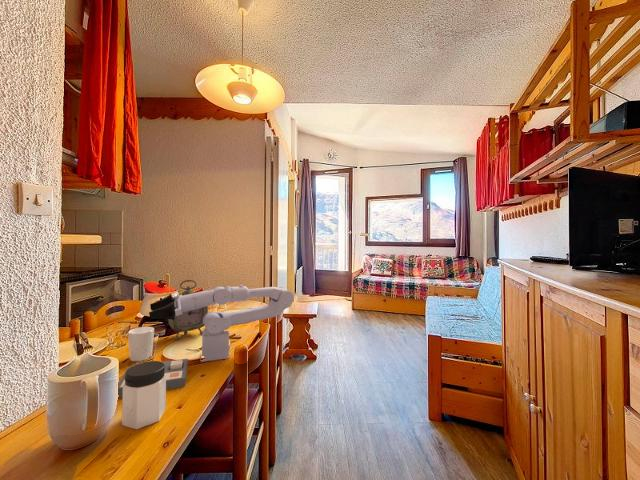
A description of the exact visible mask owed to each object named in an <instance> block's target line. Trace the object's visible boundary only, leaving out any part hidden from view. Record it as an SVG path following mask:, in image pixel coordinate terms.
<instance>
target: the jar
mask: <svg viewBox="0 0 640 480" xmlns="http://www.w3.org/2000/svg"><path fill="white" fill-rule="evenodd" d="M163 362H164V361H158V360H149V361H142V362H139V363H137V364H135V365H134V364H133V365H131V366H132V367H130V368H129V369H128V370H127V369H126V370H127V371H126V370H125V372H124V373H125V384H124V385H123V397H122V404H121V405H122V407H121V408H122V409H121V410H122V412H121V413H122V414H121V415H122V416H121V425H122V426H123V427H127V428H129V429H130V428H131V429H134V430H139V429H142V428H144V427H147V426H149V425H150V426H151V425H152V424H155V423H157V422H159V421H160V420H161V418H162V417H163V414H164V412H165V411H166V401H167V400H166V399H167V398H166V395H167V389H166V373H165V364H164V363H163Z"/></svg>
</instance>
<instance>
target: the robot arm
mask: <svg viewBox="0 0 640 480" xmlns="http://www.w3.org/2000/svg"><path fill="white" fill-rule="evenodd" d="M267 297H268V298H271V299H270V301H269V302H268V304H267V305H262V306H256V307H251V308H246V309H241V310H235V311H231V312H230V311H229V312H225V311H222V312H216V311H208V313H207V314H206V315H205V316H204V318H203V324H204V326H203V327H204V329H203V330H202V331H203V332H202V335H201V338H202V340H201V341H202V342H201V343H202V344H201V352H202V356H204V357H206V358H205V359H203V360H201V359H200V362H201V363H205V362H209V361H210V362H212V361H218V360H226V359H229V358H230V355H229V353H230V333H229V332H230V331H229V330H228V329H230V328H231V327H233V326H238V325H242V324H246V323H247V324H248V323H252V322H257V321H262V320H267V319H271V318H275V317H277V316H278V315H280V314H281V313H282V312H284V311H285V310H286V309H289V308H290V307H291V306H292V304H293V303H294V299H295V295H294V293H293V292H292V291H291V290H290V289H289V290H288V289H286V288H284V287H282V286H278V287H277V286H268V287H267V286H266V287H257V288H248V287H247V286H245V285H244V284H238V286H230V285H226V286H225V287H224V286H219V285H218V286H215V287H213V289H209V290H208V289H207V290H203V291H202V290H201V291H198V292H194V293H193V294H188V295H183V296H182V295H180V293H179V292H178V293H176V295H175V296H173V295H172V294H171V293H170V294H168V295H167V296H166V297H163V298H162V299H159V300H158V301H155V302H153V303H150V304H149V306H150V311H149V312H148V316H149V319H150V320H155V319H164V320H165V319H166V320H168V319H171V320H175V316H174V315H176V316H178V315H182V312H186V311H190V310H194V309H198V308H202V307H206V306H208V307H210V306H213V305H216V304H218V305H221V306H222V305H226V304H228V303H236V302H237V303H238V302H246V301H247V300H249V299H250V298H267ZM176 303H177V308H176ZM174 306H175V307H174Z"/></svg>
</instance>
